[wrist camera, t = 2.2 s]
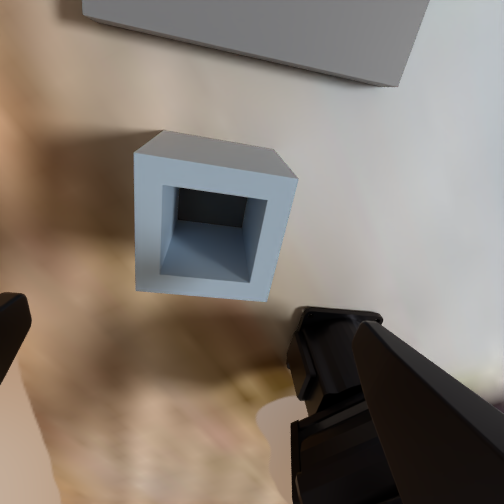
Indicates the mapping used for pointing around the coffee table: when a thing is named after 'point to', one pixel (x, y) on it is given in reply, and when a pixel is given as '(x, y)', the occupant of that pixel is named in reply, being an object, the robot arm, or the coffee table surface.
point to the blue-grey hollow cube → (203, 234)
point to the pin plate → (284, 30)
